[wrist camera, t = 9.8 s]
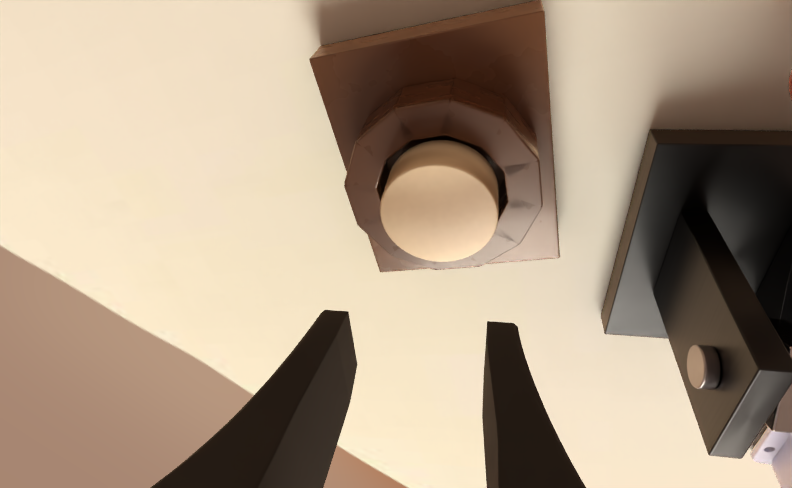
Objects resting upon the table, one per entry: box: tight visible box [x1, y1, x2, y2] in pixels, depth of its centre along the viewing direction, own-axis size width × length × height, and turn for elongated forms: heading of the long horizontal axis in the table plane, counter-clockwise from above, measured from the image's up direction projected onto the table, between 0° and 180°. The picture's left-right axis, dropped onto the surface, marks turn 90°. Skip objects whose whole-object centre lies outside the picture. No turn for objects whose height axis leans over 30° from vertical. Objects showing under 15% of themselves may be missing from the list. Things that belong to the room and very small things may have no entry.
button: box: [380, 140, 499, 262], centre depth 18 cm, size 4×4×2 cm
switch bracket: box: [601, 130, 792, 459], centre depth 18 cm, size 10×8×9 cm
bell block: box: [310, 0, 560, 272], centre depth 19 cm, size 10×8×4 cm
